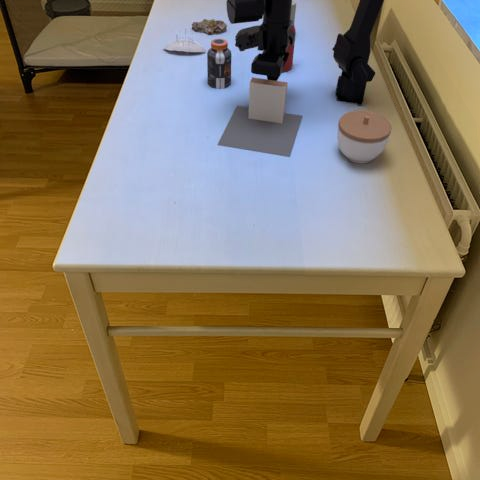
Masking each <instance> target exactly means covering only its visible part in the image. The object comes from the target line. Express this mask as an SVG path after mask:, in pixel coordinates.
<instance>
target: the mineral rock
mask: <svg viewBox="0 0 480 480" xmlns="http://www.w3.org/2000/svg"><path fill="white" fill-rule="evenodd" d="M227 26H228V24H227V23H226V22H225V21H224V20H217V19H216V20H215V19H213V18H212V19H206V18H205V19H203V20H202V21H199V22H198V21H193V22H192V24H191V30H192V31H194V32H195V33H199V34H206V35H209V36H215V35H216V36H217V35H220V34H223V33H224V32H226V31H227V28H228V27H227Z"/></svg>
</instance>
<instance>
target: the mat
mask: <svg viewBox="0 0 480 480" xmlns="http://www.w3.org/2000/svg"><path fill="white" fill-rule="evenodd" d="M248 116H249V106H248V107H247V106H243V105H236V106H235V108H234V110H233V113H232V115H231V117H230V118H229V121H228V122H227V124H226V126H225V129H224V131H223V132H222V134H221V137H220V138H219V140H218V142H217V146H221V147H225V148H233V149H240V150H245V151H249V152H250V151H251V152H256V153H263V154H269V155H275V156H280V157H281V156H282V157H286V158H287V157H288V158H291V155H292V153H293V152H292V151H293V149H294V145H295V142H296V139H297V136H298V132H299V129H300V126H301V123H302V119H303V115H300V114H294V113H288V112H285V115H284V120H283V123H275V122H269V121H262V120H256V119H249V118H248Z"/></svg>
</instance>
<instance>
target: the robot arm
mask: <svg viewBox="0 0 480 480" xmlns="http://www.w3.org/2000/svg"><path fill="white" fill-rule="evenodd" d="M384 1H385V0H359V3H358V5H357V8H356V11H355V13H354V16H353V19H352V22H351V25H350V27H349V29H348V30H347V31H346V32H345V33H343V34H342V33H338V34H337V37H336V41H335V44H334V46H333V47H332V48H331V49H332V51H333V59H334V61H335V62H336V64H337V66H338V69H340V70H341V74H340V75H338V77H337V84H336V87H335V97H336V102H337V101H338V102H345V103H349V104H350V103H351V104H355V105H356V104H357V105H358V106H363V104H364V100H365V92H366V87H367V82H372V81H373V79H374V77H375V76H376V72H375V70H374V69H373V68H372V67H371V65H370V64H369V60H370V56H371V52H372V51H371V49H372V47H371V35H372V32H373V30H374V27H375V25H376V22H377V19H378V17H379V14H380V12H381V9H382V7H383V4H384ZM292 2H293V0H226V13H227V17H228V21H229V23H230V24H231V25H234V24H241V23H242V24H244V23H251V22H259V21H260V20H262V23H261V24H259V25H252V26H249V27H245V28H242V29H240V30H239V31H238V32H237V33H236V35H235V37H234V38H235V39H234V40H235V45H234V46H235V47H237V49H238V51H240V52H245V51H246V50H250V49H253V48H257V51H260V52H259V53H258V54H257V55H255V56H254V58H253V60H252V62H251V65H250V66H251V67H250V72H251V73H252V74H253V75H254V74H255V75H258V76H266V79H267V80H274V81H279V78H280V77H281V75H282V73H283V72H282V70H283V68H284V66H285V64H286V61H287V59H288V57H289V55H290V53H288V52H286V51H287V48H288V46H289V44H290V46H293V44H294V42H295V43H296V34H295V32H294V31H293V30H292V29H290V27H291V24H292V20H290V18H291V7H292ZM294 45H295V44H294ZM261 52H262V53H261Z"/></svg>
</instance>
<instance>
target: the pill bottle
mask: <svg viewBox="0 0 480 480" xmlns="http://www.w3.org/2000/svg"><path fill="white" fill-rule="evenodd" d="M228 45H229V44H228V41H227V40H226V39H224V38H213V39H212V40H211V41H210V48H209V49H207V51H206V55H207V56H206V58H207V63H206V64H207V65H206V66H207V71H206V72H207V85H208V87H210V88H212V89H217V90H222V89H226V88H229V87H230V86H231V84H232V50H230V49H229V48H228Z"/></svg>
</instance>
